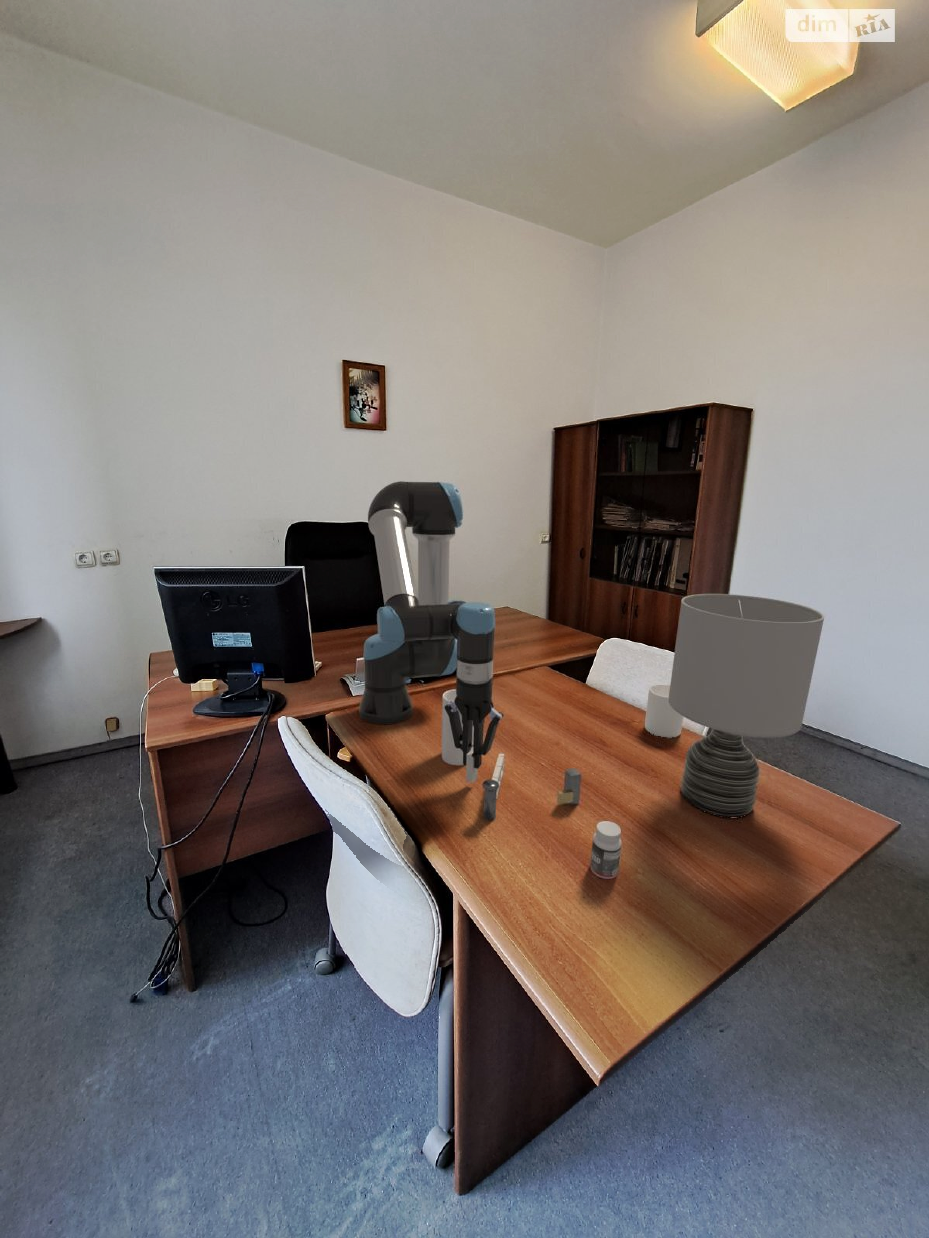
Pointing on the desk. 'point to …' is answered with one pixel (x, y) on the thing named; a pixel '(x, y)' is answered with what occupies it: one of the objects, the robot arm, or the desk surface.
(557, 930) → the desk surface
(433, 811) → the desk surface
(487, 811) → the hinge post
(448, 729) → the cup
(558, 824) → the desk surface
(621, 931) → the desk surface
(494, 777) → the gate
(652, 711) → the mug
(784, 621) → the lamp
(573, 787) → the grey upright block
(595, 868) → the pill bottle
